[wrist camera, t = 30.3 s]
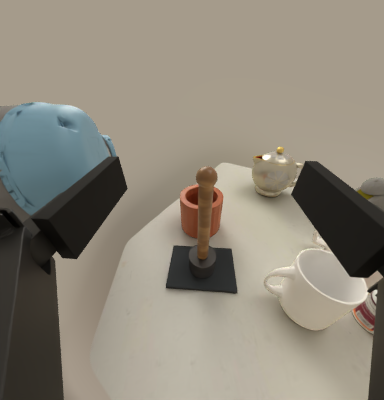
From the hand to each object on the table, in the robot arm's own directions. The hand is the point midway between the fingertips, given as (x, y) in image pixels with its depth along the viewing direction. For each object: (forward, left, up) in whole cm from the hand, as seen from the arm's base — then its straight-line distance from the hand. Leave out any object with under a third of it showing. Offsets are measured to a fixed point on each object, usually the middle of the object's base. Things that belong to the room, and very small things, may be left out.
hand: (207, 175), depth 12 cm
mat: (-7, +7, -28) cm, 30 cm away
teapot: (-12, +47, -28) cm, 56 cm away
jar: (-17, +16, -28) cm, 36 cm away
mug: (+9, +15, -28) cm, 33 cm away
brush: (-7, +7, -27) cm, 29 cm away
